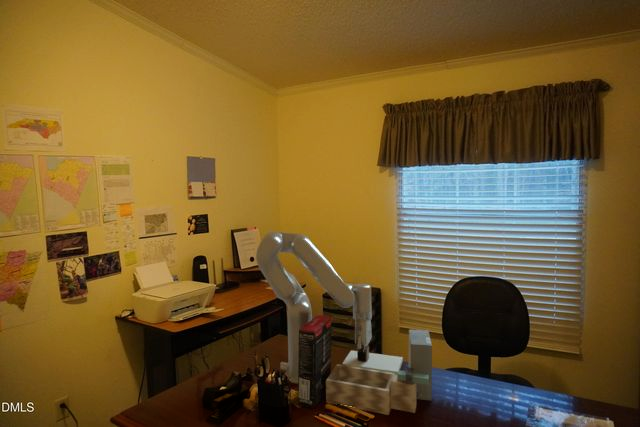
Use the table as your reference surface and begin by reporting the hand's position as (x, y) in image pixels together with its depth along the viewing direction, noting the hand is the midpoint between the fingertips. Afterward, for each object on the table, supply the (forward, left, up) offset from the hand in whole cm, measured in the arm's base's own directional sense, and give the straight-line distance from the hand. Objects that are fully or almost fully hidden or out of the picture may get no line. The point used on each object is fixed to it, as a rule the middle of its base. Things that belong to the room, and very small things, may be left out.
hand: (363, 358), depth 148 cm
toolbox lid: (+4, 0, -2) cm, 4 cm away
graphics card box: (-12, -22, -6) cm, 26 cm away
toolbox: (+8, -19, -6) cm, 21 cm away
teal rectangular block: (+22, -19, +4) cm, 29 cm away
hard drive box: (+23, -5, -6) cm, 24 cm away
